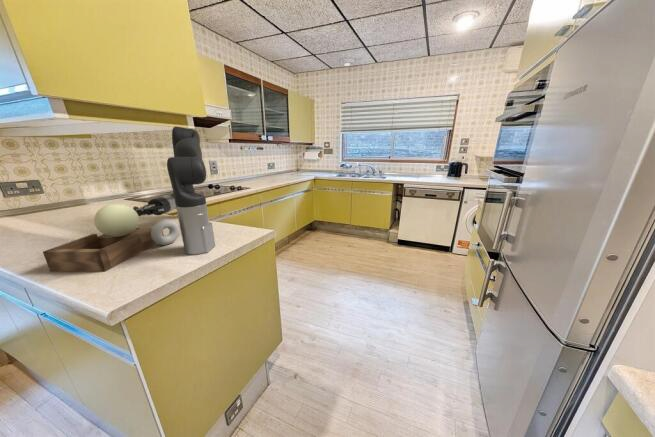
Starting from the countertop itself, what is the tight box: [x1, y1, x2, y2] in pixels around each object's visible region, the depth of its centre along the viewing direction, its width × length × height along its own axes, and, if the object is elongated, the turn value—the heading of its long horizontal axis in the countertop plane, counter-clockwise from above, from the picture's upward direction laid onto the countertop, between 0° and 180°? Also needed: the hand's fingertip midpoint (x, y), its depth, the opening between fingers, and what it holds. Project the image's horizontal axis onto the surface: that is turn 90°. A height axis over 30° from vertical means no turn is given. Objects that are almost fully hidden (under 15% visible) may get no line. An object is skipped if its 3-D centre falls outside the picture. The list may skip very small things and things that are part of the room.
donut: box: [151, 219, 181, 246], centre depth 88 cm, size 10×4×10 cm, turn 155°
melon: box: [93, 203, 140, 237], centre depth 82 cm, size 12×12×12 cm
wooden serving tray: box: [42, 227, 165, 272], centre depth 81 cm, size 17×26×6 cm, turn 0°
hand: (131, 215), depth 88 cm, fingers closed
